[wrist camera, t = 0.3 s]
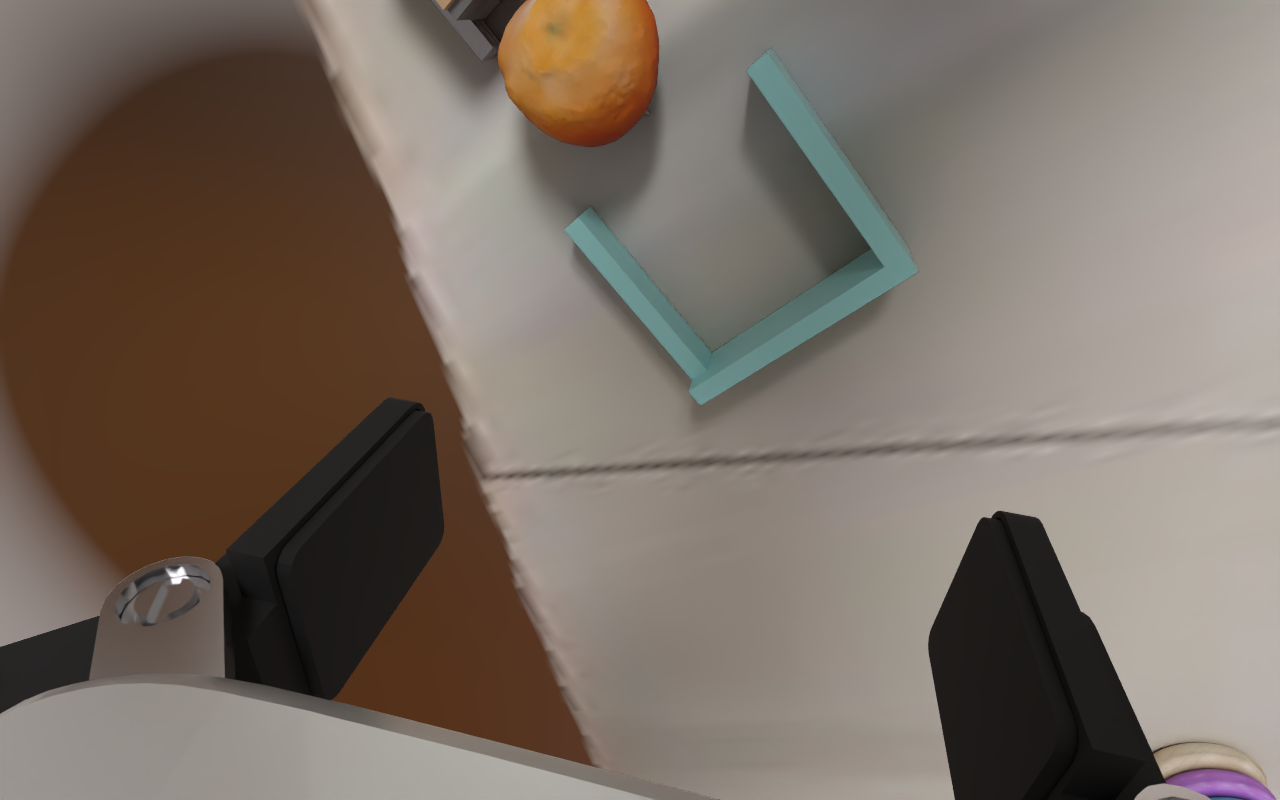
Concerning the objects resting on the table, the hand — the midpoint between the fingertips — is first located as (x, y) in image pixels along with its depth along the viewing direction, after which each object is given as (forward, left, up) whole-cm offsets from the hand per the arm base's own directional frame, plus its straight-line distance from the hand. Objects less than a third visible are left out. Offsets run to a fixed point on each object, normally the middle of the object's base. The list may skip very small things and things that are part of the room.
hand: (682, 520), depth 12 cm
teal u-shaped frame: (+4, +2, -31) cm, 31 cm away
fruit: (+4, -10, -31) cm, 33 cm away
